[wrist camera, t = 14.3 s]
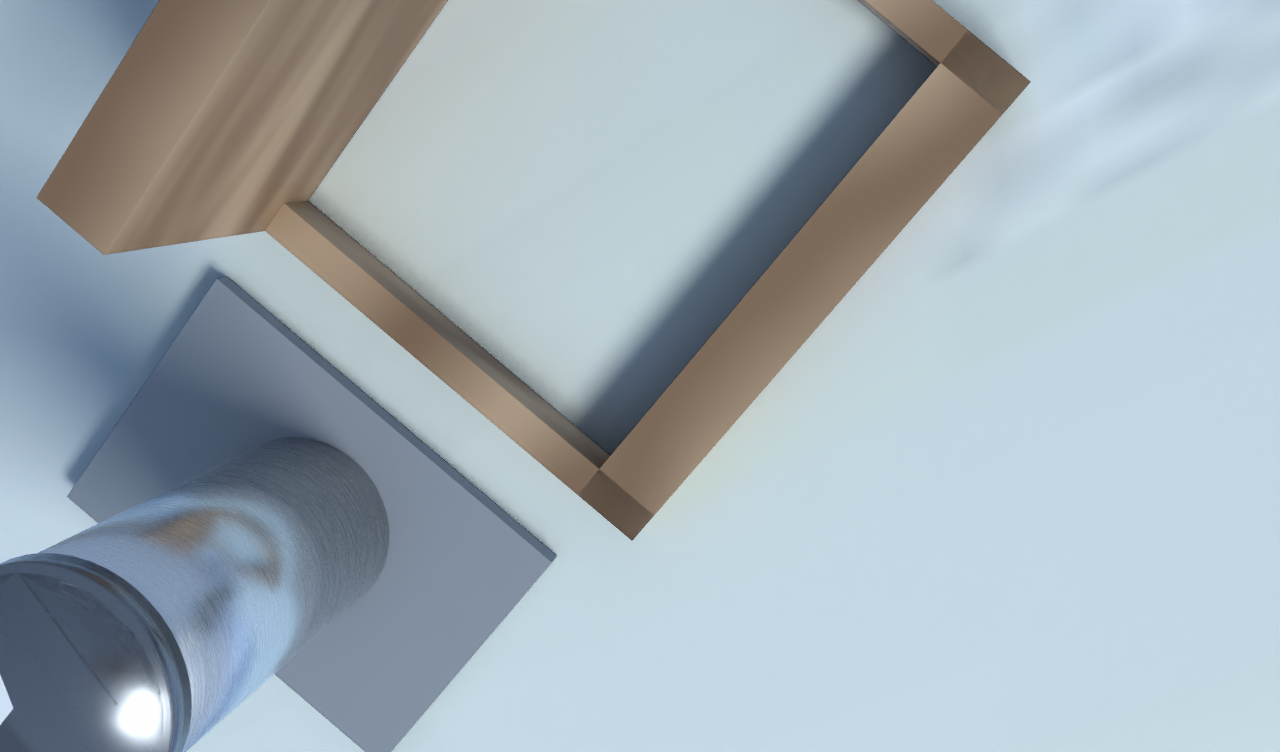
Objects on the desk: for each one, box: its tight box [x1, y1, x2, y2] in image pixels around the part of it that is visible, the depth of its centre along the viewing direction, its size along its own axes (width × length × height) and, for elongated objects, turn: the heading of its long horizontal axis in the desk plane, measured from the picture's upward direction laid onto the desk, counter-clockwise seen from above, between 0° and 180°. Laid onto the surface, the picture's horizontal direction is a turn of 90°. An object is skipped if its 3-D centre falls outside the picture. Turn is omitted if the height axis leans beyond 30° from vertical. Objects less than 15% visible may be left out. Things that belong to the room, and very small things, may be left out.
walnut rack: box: [37, 0, 1030, 540], centre depth 29 cm, size 16×16×9 cm
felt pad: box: [67, 277, 557, 752], centre depth 37 cm, size 13×9×1 cm
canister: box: [0, 437, 390, 752], centre depth 31 cm, size 6×6×12 cm
